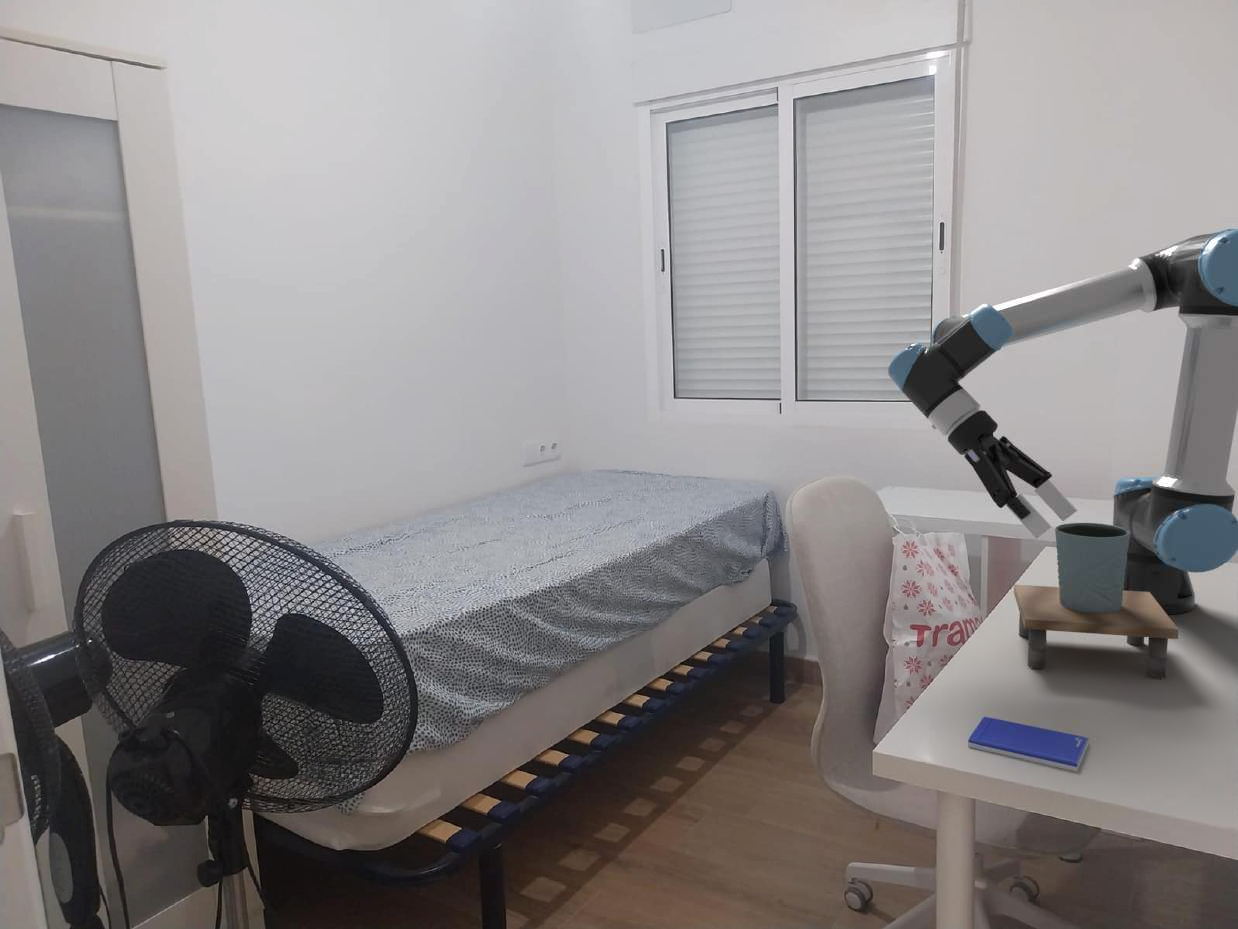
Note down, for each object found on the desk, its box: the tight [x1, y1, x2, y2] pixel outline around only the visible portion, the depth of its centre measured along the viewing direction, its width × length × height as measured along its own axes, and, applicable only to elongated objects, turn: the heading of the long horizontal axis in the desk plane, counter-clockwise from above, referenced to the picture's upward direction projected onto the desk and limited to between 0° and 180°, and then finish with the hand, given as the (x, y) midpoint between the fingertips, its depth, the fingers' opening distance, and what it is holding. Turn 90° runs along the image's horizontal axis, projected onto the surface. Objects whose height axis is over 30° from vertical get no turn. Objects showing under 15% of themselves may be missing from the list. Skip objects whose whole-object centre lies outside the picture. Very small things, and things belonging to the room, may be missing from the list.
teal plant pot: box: [1054, 522, 1130, 614], centre depth 140 cm, size 10×10×12 cm
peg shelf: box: [1013, 584, 1179, 680], centre depth 141 cm, size 20×18×8 cm
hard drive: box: [967, 716, 1090, 772], centre depth 114 cm, size 2×8×12 cm
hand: (1057, 524), depth 142 cm, fingers open, 13 cm apart
